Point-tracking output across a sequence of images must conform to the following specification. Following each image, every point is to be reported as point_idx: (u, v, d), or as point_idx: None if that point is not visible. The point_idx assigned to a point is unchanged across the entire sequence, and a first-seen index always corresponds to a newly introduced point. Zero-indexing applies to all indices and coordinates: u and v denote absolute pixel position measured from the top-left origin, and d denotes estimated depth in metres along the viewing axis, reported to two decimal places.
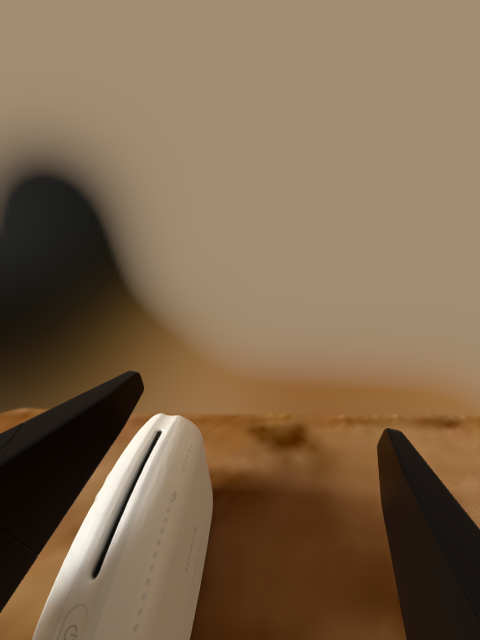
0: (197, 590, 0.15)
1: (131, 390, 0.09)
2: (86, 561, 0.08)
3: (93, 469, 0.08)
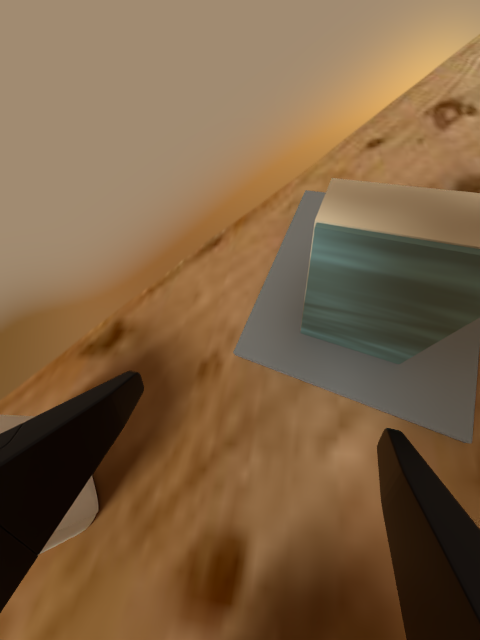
0: None
1: (131, 390, 0.09)
2: None
3: (93, 469, 0.08)
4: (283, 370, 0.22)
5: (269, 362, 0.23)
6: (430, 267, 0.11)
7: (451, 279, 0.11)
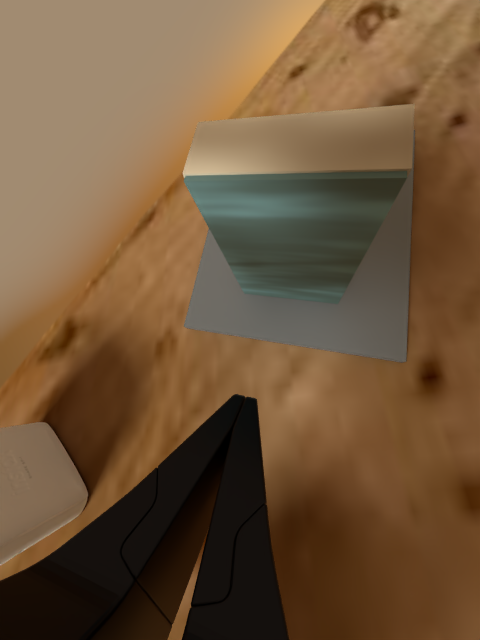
0: (58, 465, 0.22)
1: None
2: None
3: None
4: (233, 333, 0.23)
5: (219, 328, 0.23)
6: (304, 201, 0.10)
7: (327, 209, 0.11)
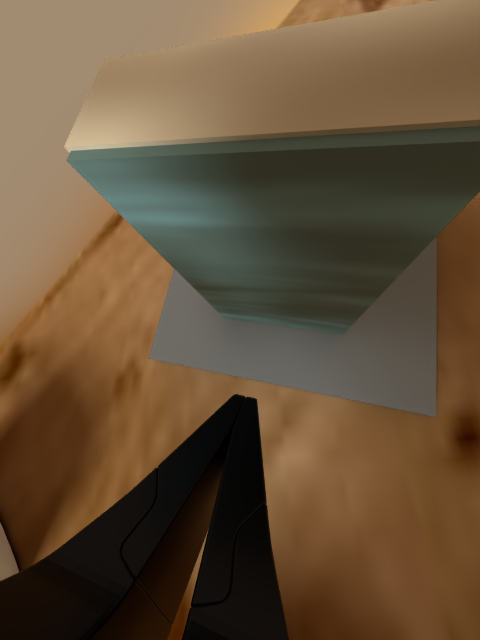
0: None
1: None
2: None
3: None
4: (209, 369, 0.18)
5: (191, 362, 0.18)
6: (290, 199, 0.06)
7: (334, 213, 0.06)
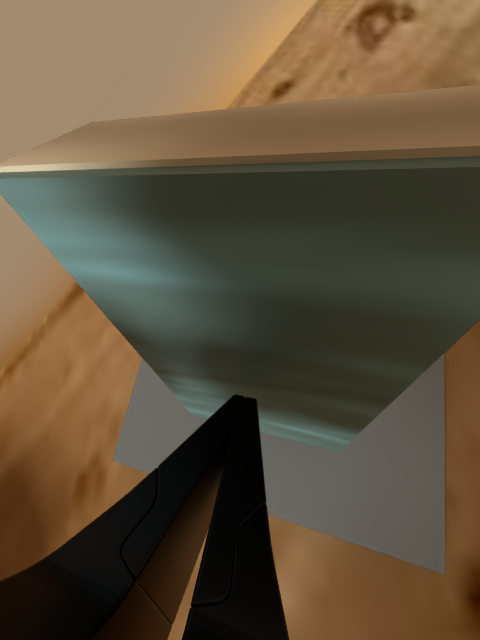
0: None
1: None
2: None
3: None
4: None
5: None
6: (273, 251, 0.04)
7: (332, 277, 0.04)
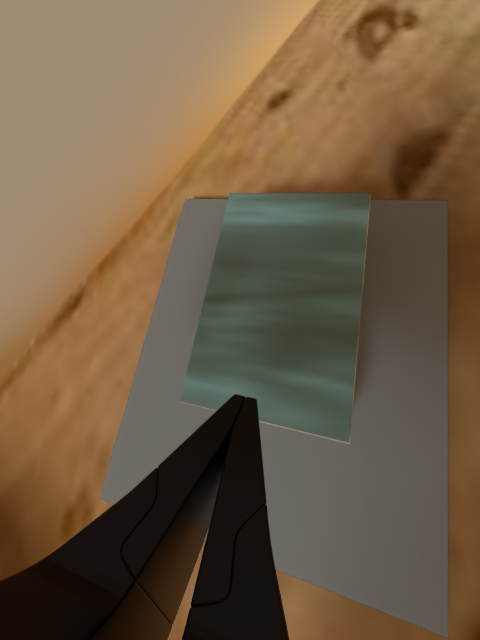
0: None
1: None
2: None
3: None
4: None
5: None
6: (307, 209, 0.15)
7: (323, 216, 0.14)
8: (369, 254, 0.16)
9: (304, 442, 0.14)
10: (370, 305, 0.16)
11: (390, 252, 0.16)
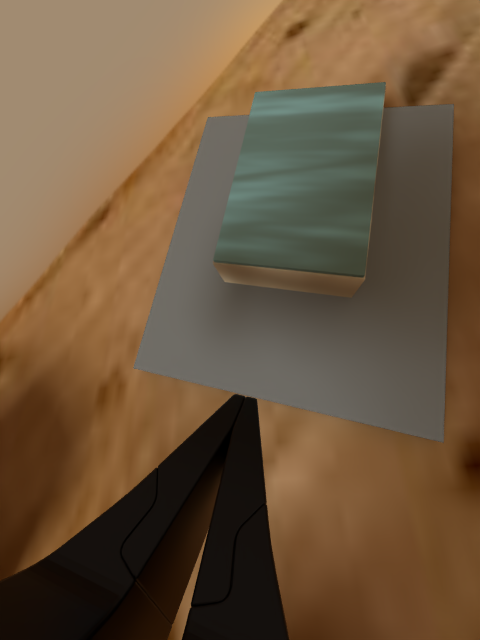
0: None
1: None
2: None
3: None
4: (198, 382, 0.17)
5: (179, 374, 0.17)
6: (328, 99, 0.16)
7: (343, 104, 0.16)
8: (381, 153, 0.18)
9: (320, 307, 0.16)
10: (381, 195, 0.17)
11: (400, 150, 0.18)
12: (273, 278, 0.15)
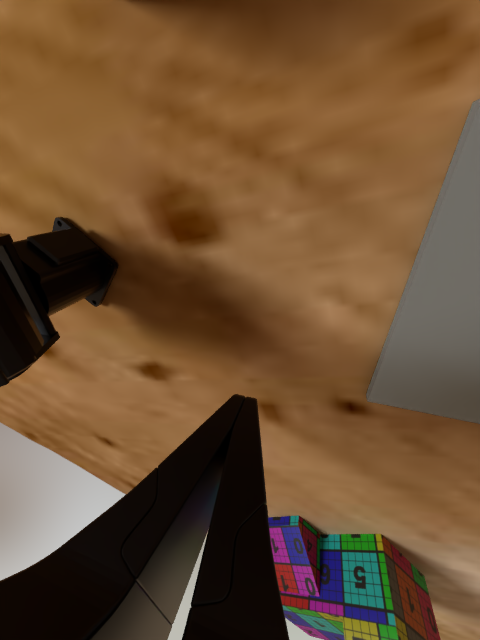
0: None
1: None
2: None
3: None
4: (436, 222, 0.13)
5: (454, 192, 0.13)
6: None
7: None
8: None
9: None
10: None
11: None
12: None
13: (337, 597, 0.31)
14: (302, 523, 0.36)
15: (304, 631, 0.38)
